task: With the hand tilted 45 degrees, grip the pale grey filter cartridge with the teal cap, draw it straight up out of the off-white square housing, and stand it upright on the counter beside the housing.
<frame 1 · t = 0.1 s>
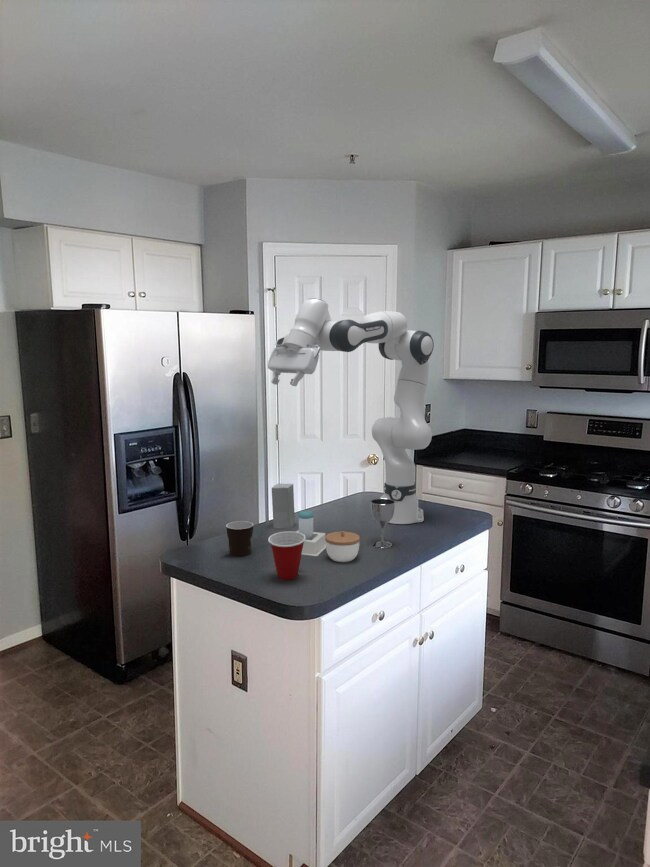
hand: (283, 384, 188), 54 cm above the counter, tool tilted 30°, fingers open, 8 cm apart
lidded jar: (342, 561, 189), on the counter
skincare box: (283, 527, 223), on the counter
plastic cup: (287, 577, 176), on the counter
filter cartridge: (306, 547, 198), point 1 cm above the counter, touching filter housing
coffee mug: (242, 554, 195), on the counter
wine glass: (382, 545, 204), on the counter
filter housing: (306, 550, 198), on the counter
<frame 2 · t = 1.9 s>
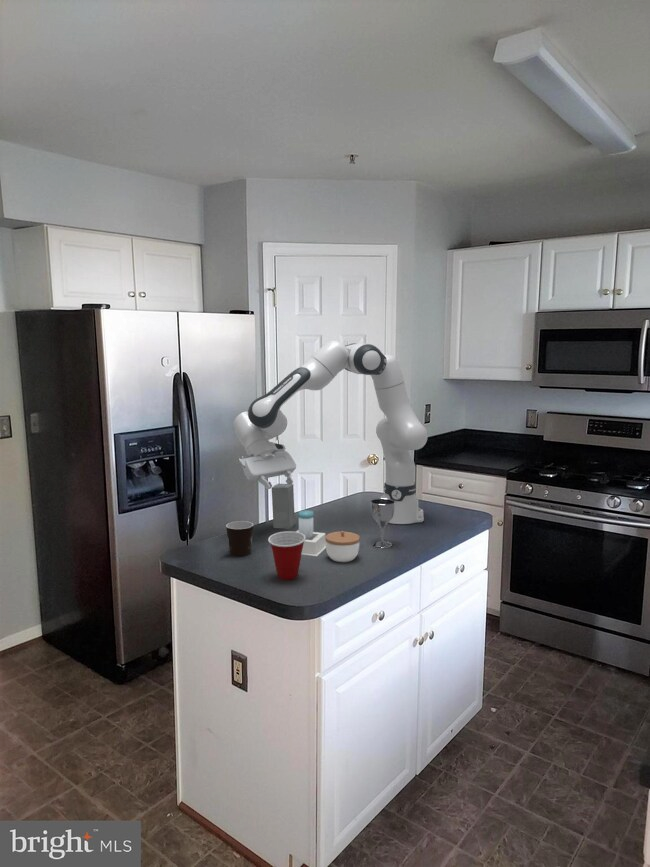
hand: (280, 485, 204), 20 cm above the counter, tool tilted 45°, fingers open, 8 cm apart
nothing on the counter moved.
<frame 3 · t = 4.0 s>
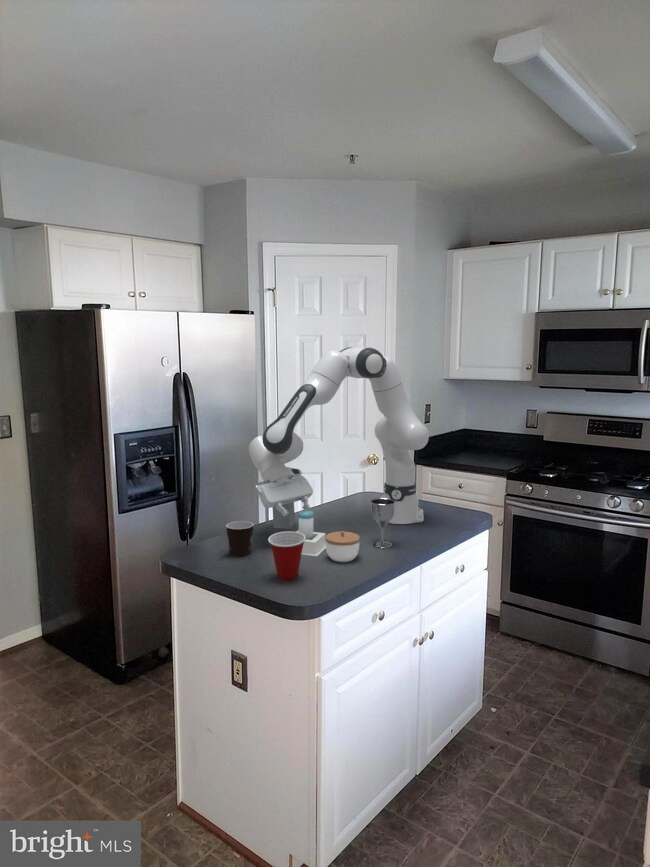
hand: (297, 512, 199), 12 cm above the counter, tool tilted 45°, fingers open, 8 cm apart
nothing on the counter moved.
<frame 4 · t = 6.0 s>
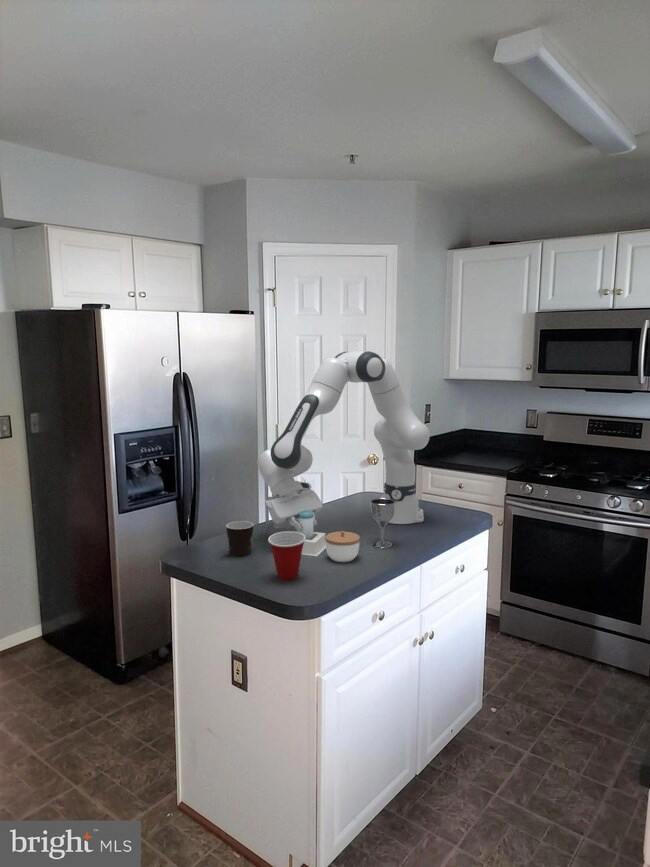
hand: (307, 527, 197), 8 cm above the counter, tool tilted 45°, fingers closed on filter cartridge, 5 cm apart
filter cartridge: (306, 547, 198), point 1 cm above the counter, touching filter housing, gripper
everything else where it was.
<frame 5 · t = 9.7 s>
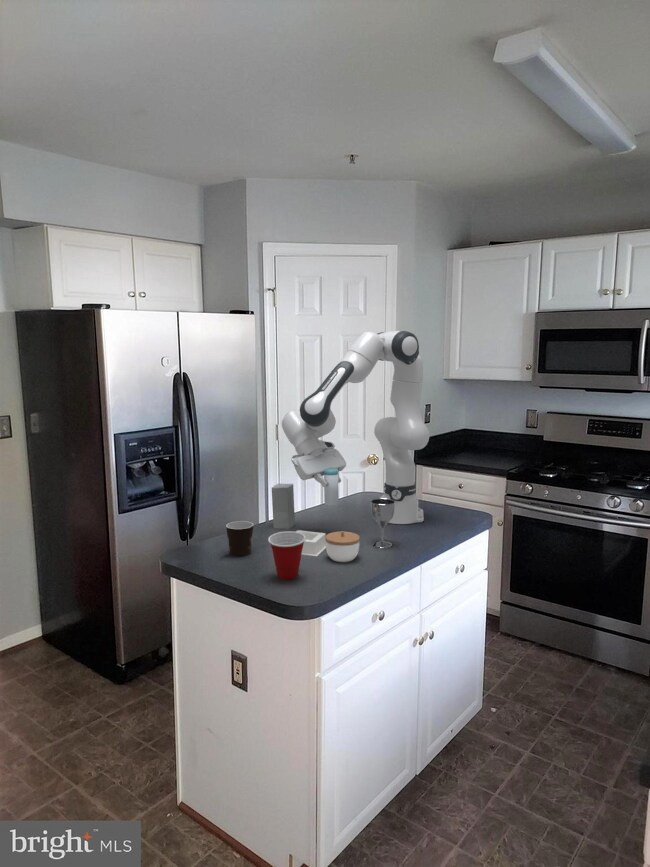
hand: (332, 483, 203), 20 cm above the counter, tool tilted 45°, fingers closed on filter cartridge, 5 cm apart
filter cartridge: (331, 504, 204), point 13 cm above the counter, touching gripper
everything else where it was.
when the fingers open (9 cm above the counter, at t = 13.1 s): filter cartridge drops 2 cm, on the counter.
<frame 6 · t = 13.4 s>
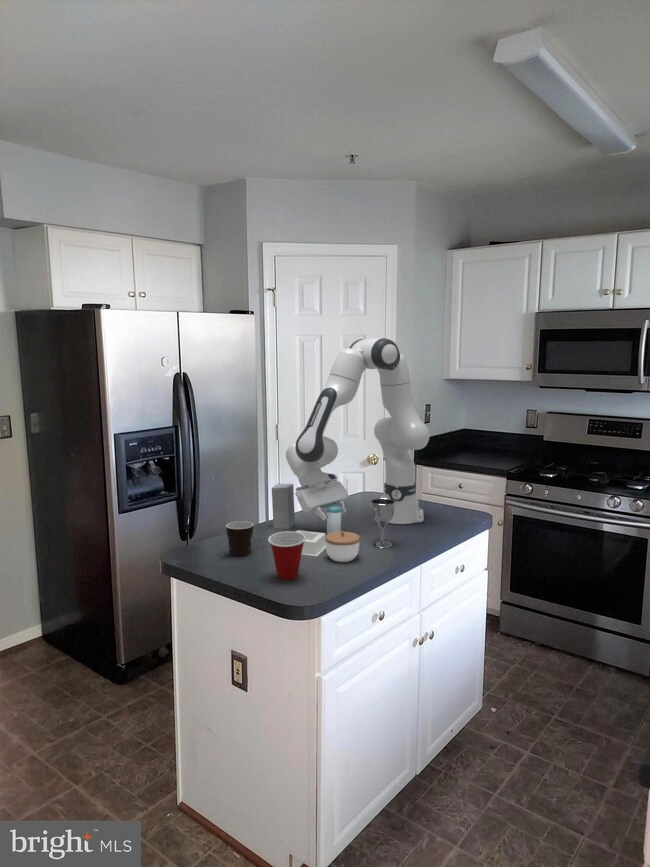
hand: (335, 516, 206), 9 cm above the counter, tool tilted 45°, fingers open, 8 cm apart
filter cartridge: (333, 541, 208), on the counter
everything else where it was.
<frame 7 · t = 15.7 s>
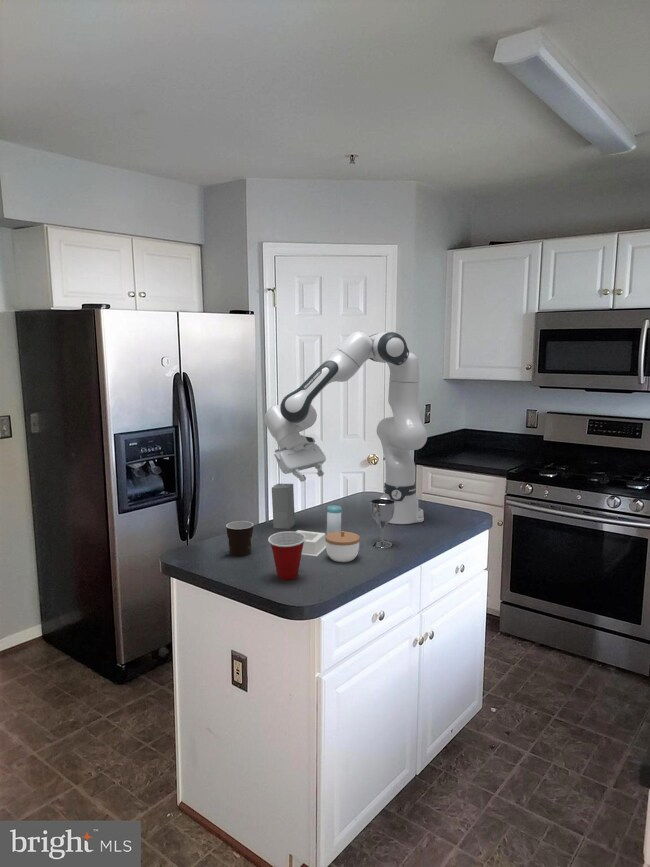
hand: (313, 478, 211), 21 cm above the counter, tool tilted 40°, fingers open, 8 cm apart
nothing on the counter moved.
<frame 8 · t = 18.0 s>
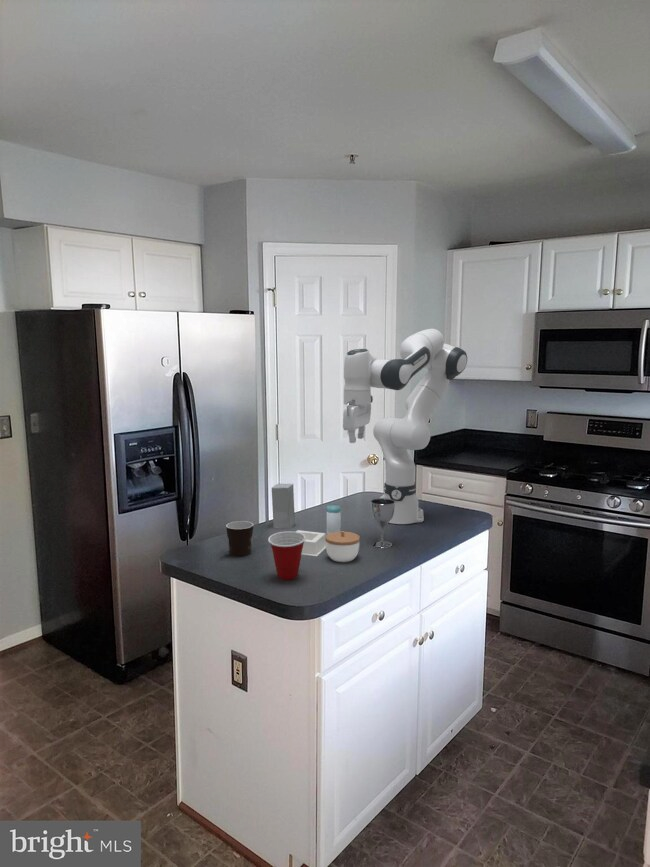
hand: (356, 440, 201), 35 cm above the counter, tool pointing down, fingers open, 8 cm apart
nothing on the counter moved.
at the end: filter cartridge inside the target area (0.1 cm from its centre), on the counter; filter cartridge tilted 1°; the gripper is holding nothing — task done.
